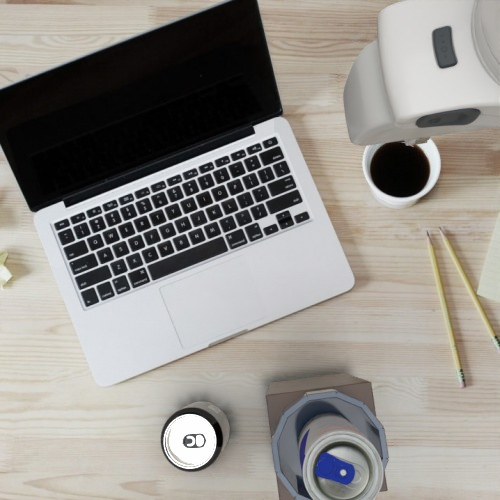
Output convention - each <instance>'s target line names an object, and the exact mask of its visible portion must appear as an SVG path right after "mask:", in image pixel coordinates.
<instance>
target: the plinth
mask: <svg viewBox="0 0 500 500" xmlns="http://www.w3.org/2000/svg"><path fill="white" fill-rule="evenodd" d="M372 385H373V384H372V381H369V380H366V379H363V378H361V377H357V376H354V375H351V374H348V373H345V372H339V373H332V374H325V375H318V376H317V375H315V376H309V377H302V378H293V379H287V380H279V381H271V382H270V385H269V387H268V389H267V392H266V394H265V401H266V408H267V409H266V410H267V416H268V424H269V432H270V439H271V441H272V434H273V431H274V429H275V426H276V424H277V421H278V419H279V416H280V414H281V411H282V409H283V408H284V407H285V406H287V405H288V404H289V403H290V402H292V401H293V400H294V399H296V398H297V397H298V396H299V395H301V394H302V393H303V392H305V391H311V390H319V389H327V388H334V389H336V390H339V391H341V392H344V393H346V394H348V395H351V396H353V397H355V398H358V399H359V400H361V401H363V402H364V403H365V404H366V405H367V406H368V407H369V409H370V410H371V411H372V412H373V414H374V415H375V416H376V418H377V419H378V417H377V410H376V405H375V399H374V392H373V386H372ZM275 477H276V484H277V492H278V500H295V498H293V497H292V496H291V494H290V493H289V491H288V490H287V489H286V487H285V486H284V485H283V483H282V482H281V481H280V479H279V478H278V477H277V475H276V474H275ZM381 492H388V483H387V477H386V470H385V471H384V474H383V483H382V486H381V489H380V491H379V493H381Z"/></svg>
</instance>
